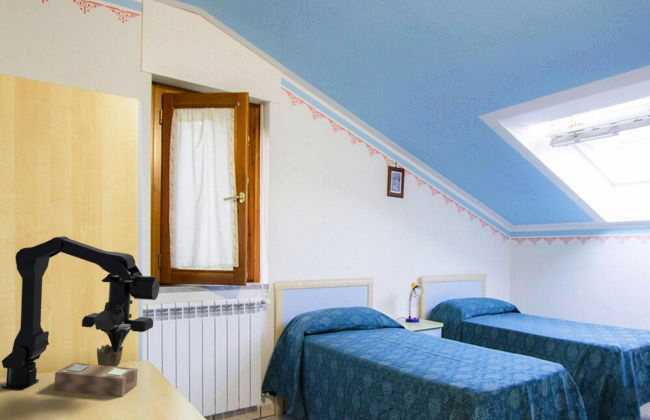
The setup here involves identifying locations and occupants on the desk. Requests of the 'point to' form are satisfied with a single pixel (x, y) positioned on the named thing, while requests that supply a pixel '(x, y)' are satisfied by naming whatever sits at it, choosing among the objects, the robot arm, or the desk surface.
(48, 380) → the desk surface
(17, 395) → the desk surface
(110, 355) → the cup
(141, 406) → the desk surface
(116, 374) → the sage peg
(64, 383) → the walnut bar
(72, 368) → the steel peg
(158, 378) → the desk surface
